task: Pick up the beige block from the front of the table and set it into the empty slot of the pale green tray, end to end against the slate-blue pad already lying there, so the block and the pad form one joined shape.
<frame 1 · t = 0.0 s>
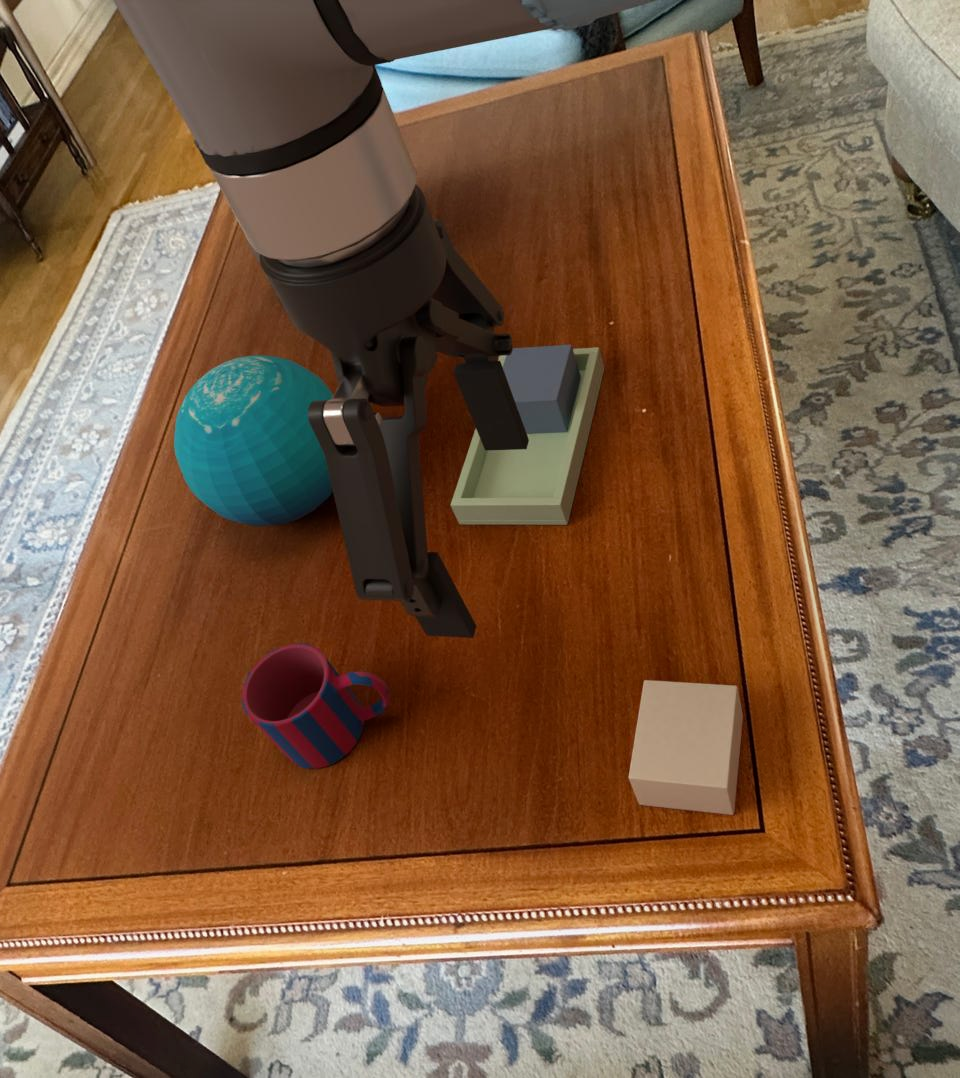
hand: (481, 532, 57), 19 cm above the table, tool pointing down, fingers open, 13 cm apart
mug: (344, 729, 74), on the table
pad tray: (535, 443, 87), on the table
slate pad: (542, 405, 89), point 1 cm above the table, touching pad tray
beige block: (691, 759, 64), on the table
decorative orb: (299, 498, 92), on the table
bowl: (350, 269, 115), on the table
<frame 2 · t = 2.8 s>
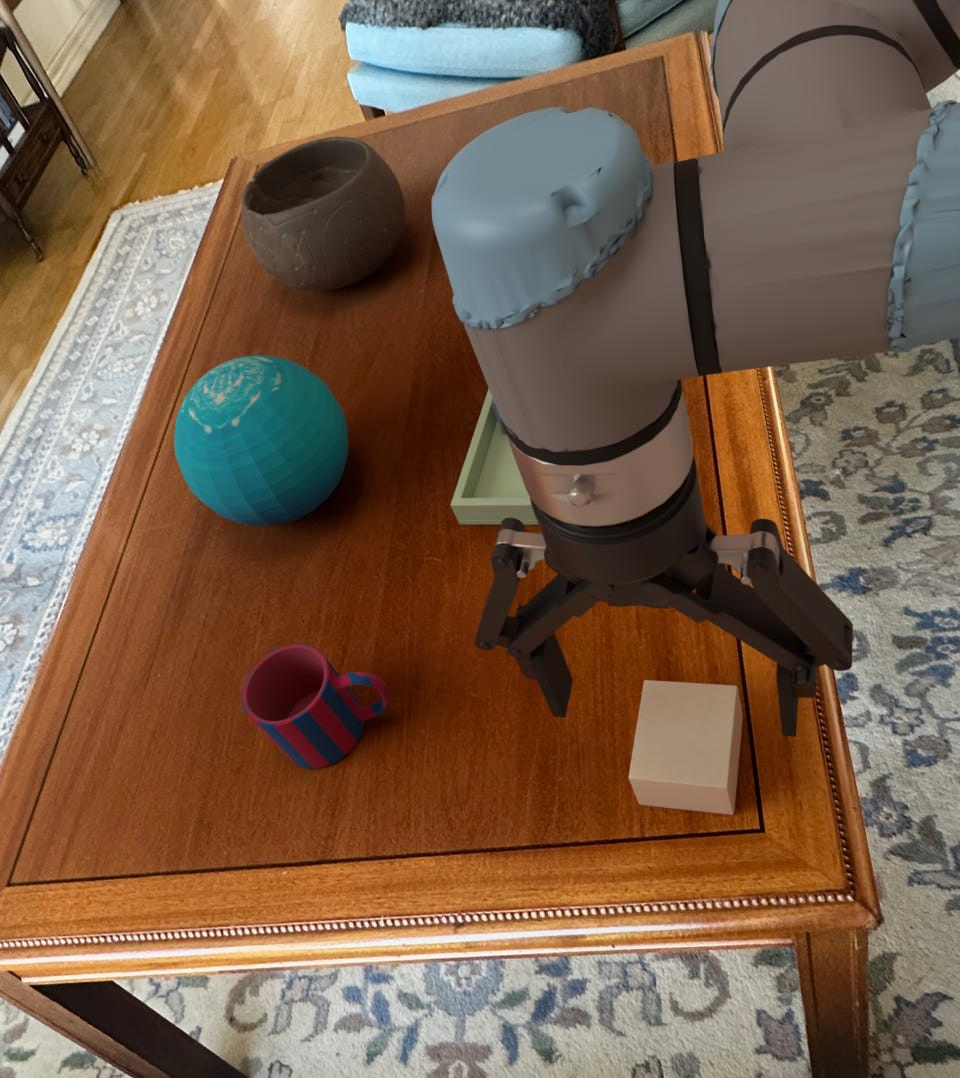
hand: (672, 706, 59), 7 cm above the table, tool pointing down, fingers open, 13 cm apart
nothing on the table moved.
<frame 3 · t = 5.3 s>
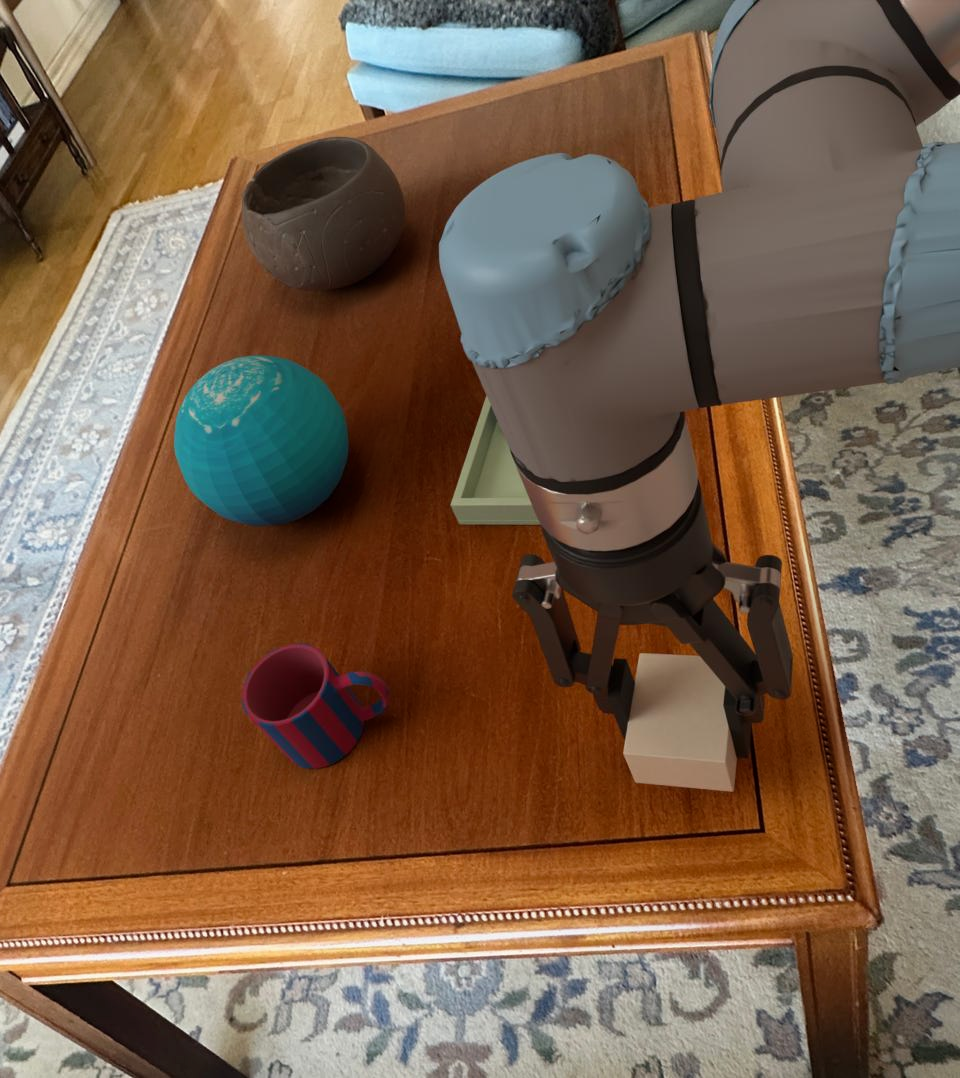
hand: (689, 733, 61), 4 cm above the table, tool pointing down, fingers closed on beige block, 6 cm apart
beige block: (690, 735, 62), point 3 cm above the table, touching gripper
everything else where it was.
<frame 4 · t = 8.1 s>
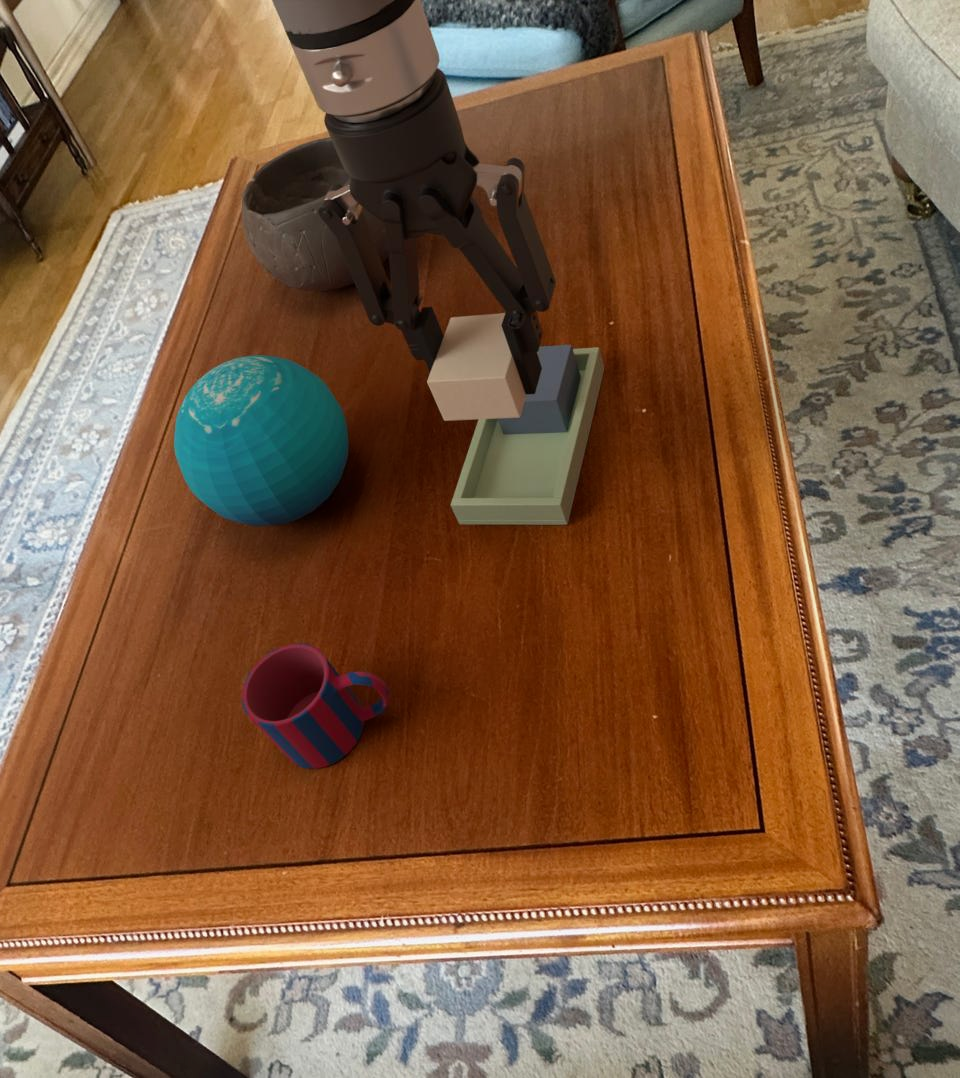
hand: (491, 383, 73), 13 cm above the table, tool pointing down, fingers closed on beige block, 6 cm apart
beige block: (492, 386, 74), point 13 cm above the table, touching gripper
everything else where it was.
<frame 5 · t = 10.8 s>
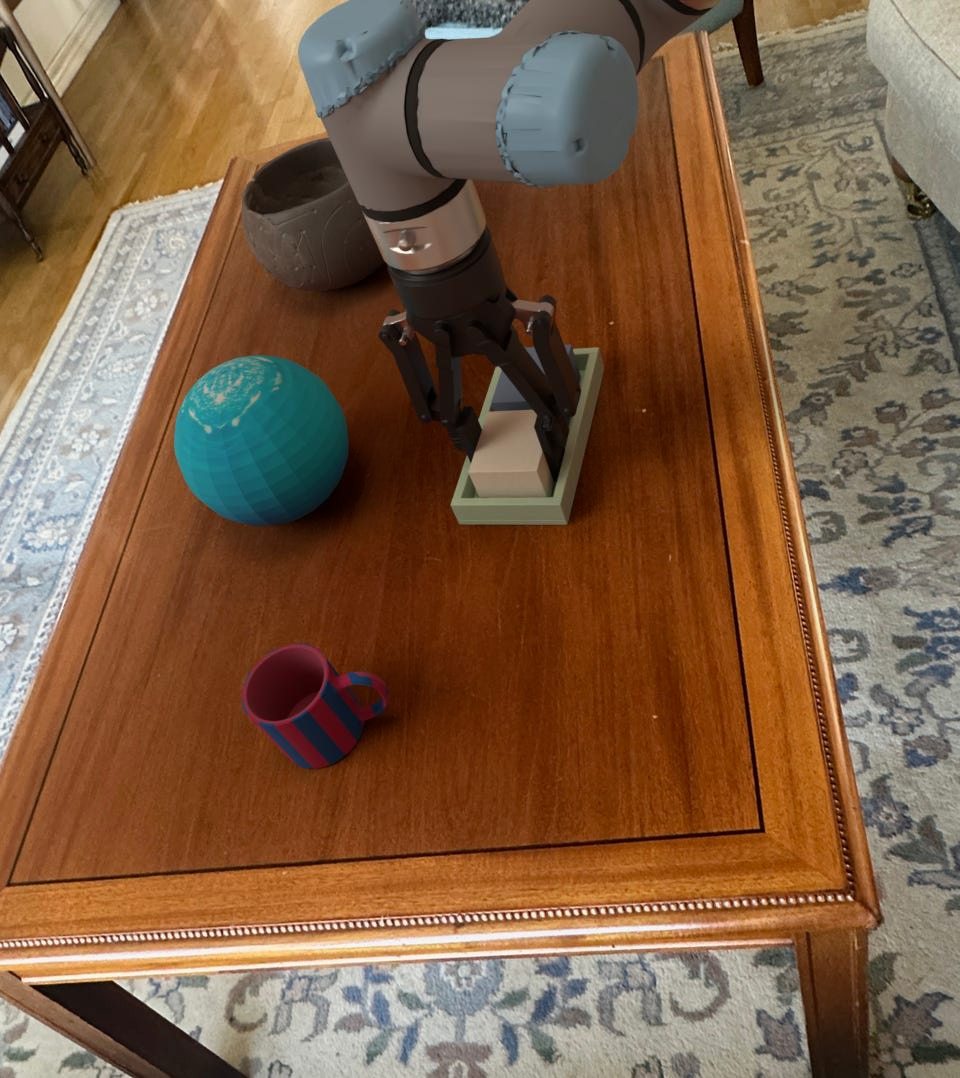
hand: (523, 469, 84), 1 cm above the table, tool pointing down, fingers closed on beige block, 6 cm apart
beige block: (523, 472, 84), point 1 cm above the table, touching gripper
everything else where it was.
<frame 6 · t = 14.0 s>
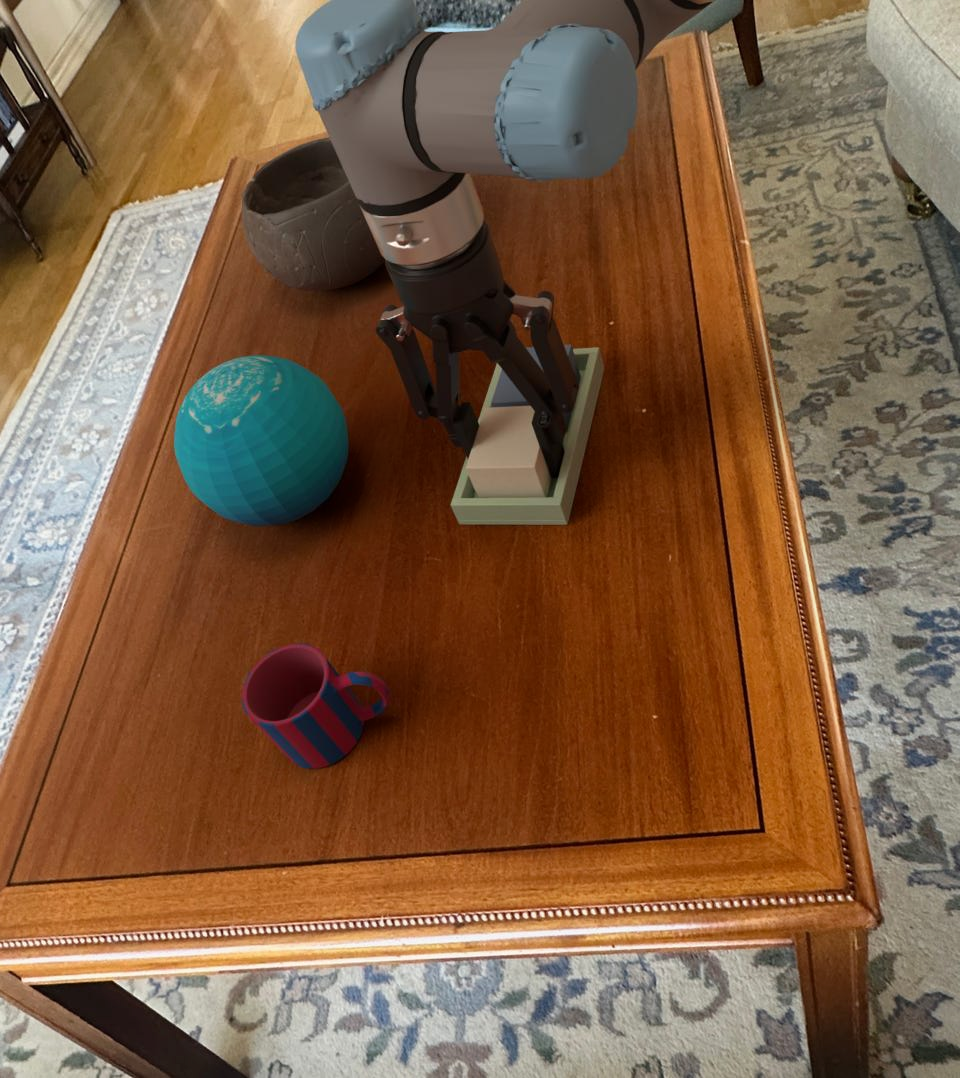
hand: (520, 466, 84), 2 cm above the table, tool pointing down, fingers closed on beige block, 6 cm apart
beige block: (521, 468, 84), point 1 cm above the table, touching gripper
everything else where it was.
when the fingers open (2 cm above the table, at t = 16.6 s): beige block stays where it is, resting on pad tray.
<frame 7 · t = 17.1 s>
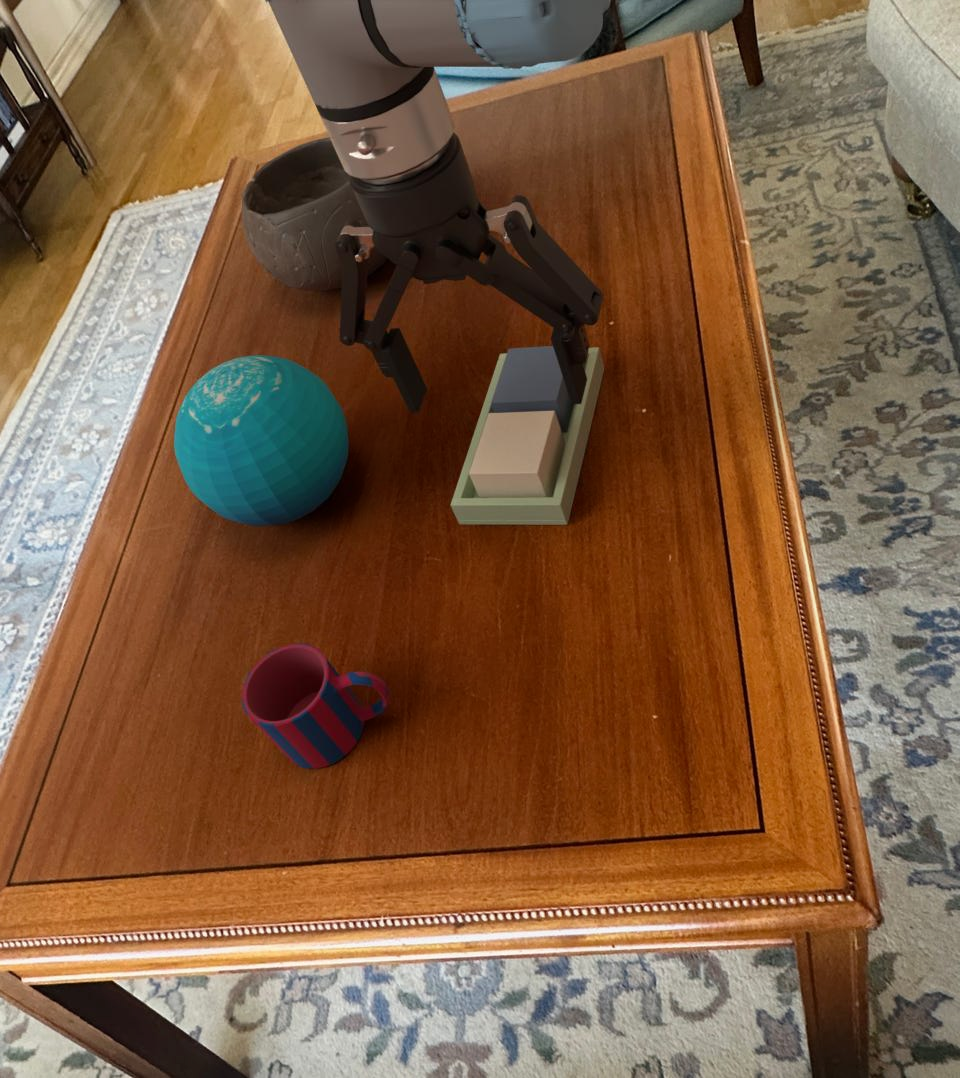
hand: (496, 397, 77), 10 cm above the table, tool pointing down, fingers open, 13 cm apart
beige block: (524, 473, 84), point 1 cm above the table, touching pad tray
everything else where it was.
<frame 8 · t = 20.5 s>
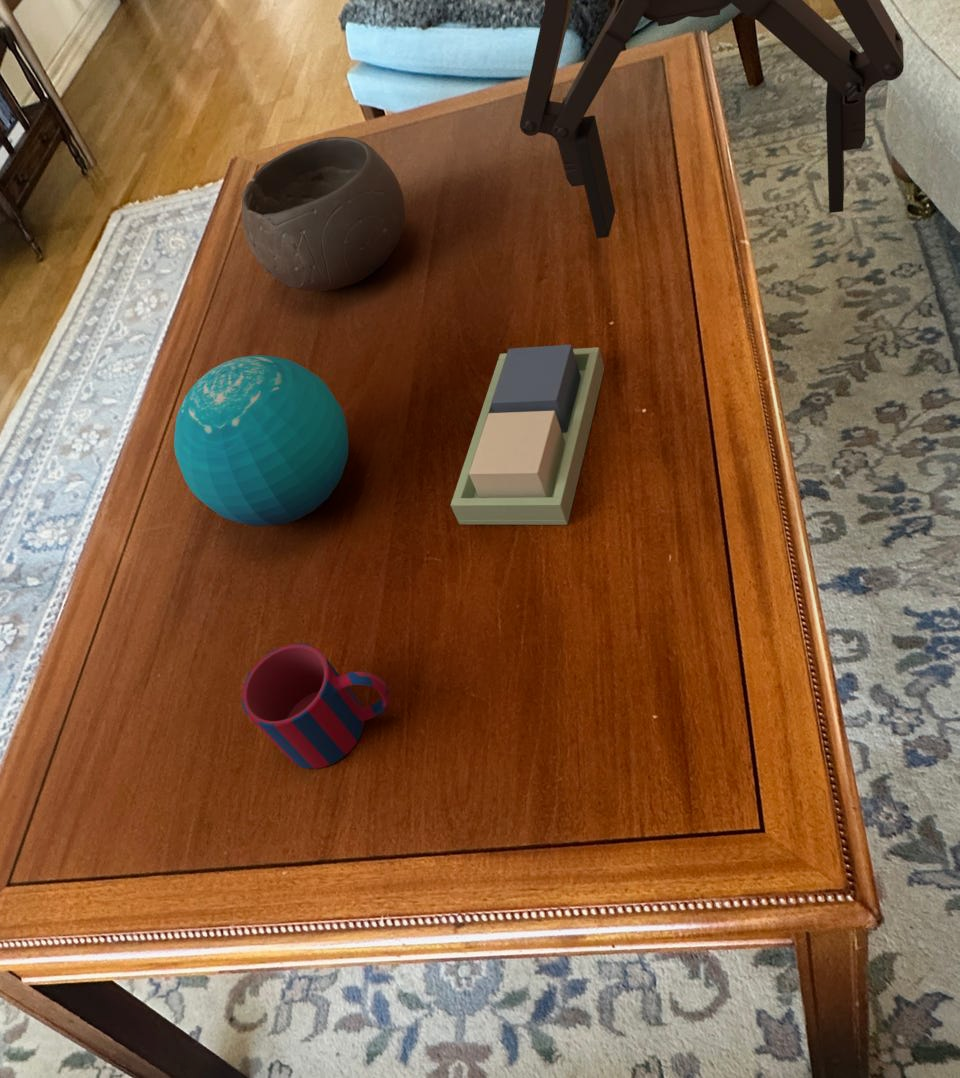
hand: (716, 212, 59), 25 cm above the table, tool pointing down, fingers open, 13 cm apart
nothing on the table moved.
at the end: beige block 0.2 cm from the target spot in the pad tray, point 0.6 cm above the pad tray's base; beige block tilted 0°; slate pad moved 0.0 cm from its start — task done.
